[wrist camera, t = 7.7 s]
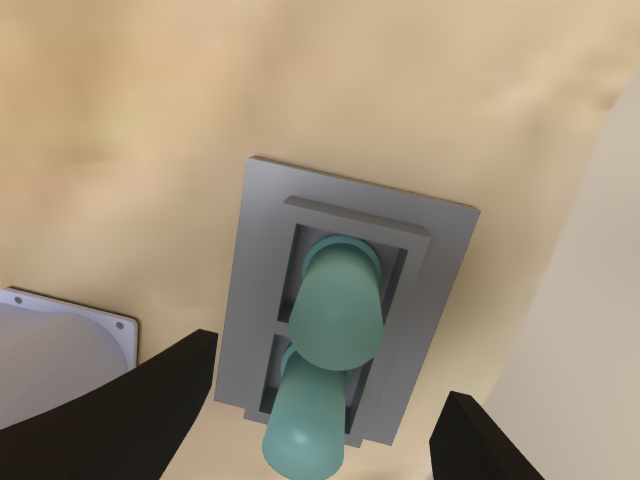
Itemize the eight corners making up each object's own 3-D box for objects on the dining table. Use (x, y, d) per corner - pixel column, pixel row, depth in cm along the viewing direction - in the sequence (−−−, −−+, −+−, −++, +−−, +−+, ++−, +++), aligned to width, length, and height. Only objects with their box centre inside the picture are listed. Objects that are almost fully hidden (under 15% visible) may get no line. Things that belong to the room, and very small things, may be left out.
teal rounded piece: (278, 381, 21) (249, 473, 15) (290, 325, 20) (263, 403, 14) (342, 397, 21) (338, 496, 15) (359, 342, 20) (361, 427, 14)
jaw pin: (299, 296, 19) (274, 365, 13) (309, 226, 18) (288, 269, 12) (372, 309, 19) (378, 386, 13) (388, 240, 17) (403, 291, 12)
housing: (220, 387, 23) (200, 425, 20) (254, 156, 18) (234, 160, 15) (389, 430, 23) (394, 475, 20) (472, 206, 18) (497, 221, 15)
